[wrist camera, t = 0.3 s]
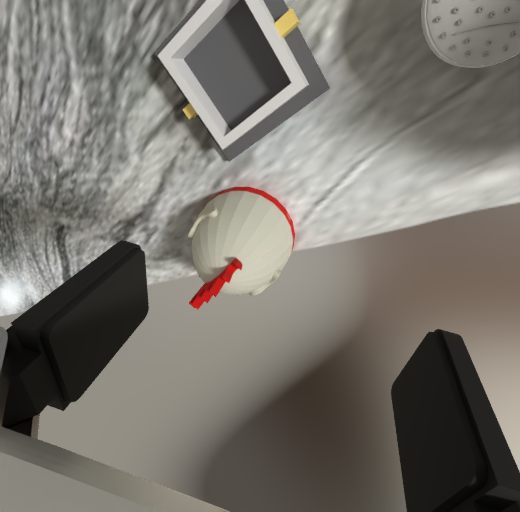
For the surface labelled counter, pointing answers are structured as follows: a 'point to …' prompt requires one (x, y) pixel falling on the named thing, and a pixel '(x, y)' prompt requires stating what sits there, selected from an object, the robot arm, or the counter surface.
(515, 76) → the counter surface
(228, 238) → the kitchen timer
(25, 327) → the robot arm
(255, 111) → the socket
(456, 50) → the showerhead
